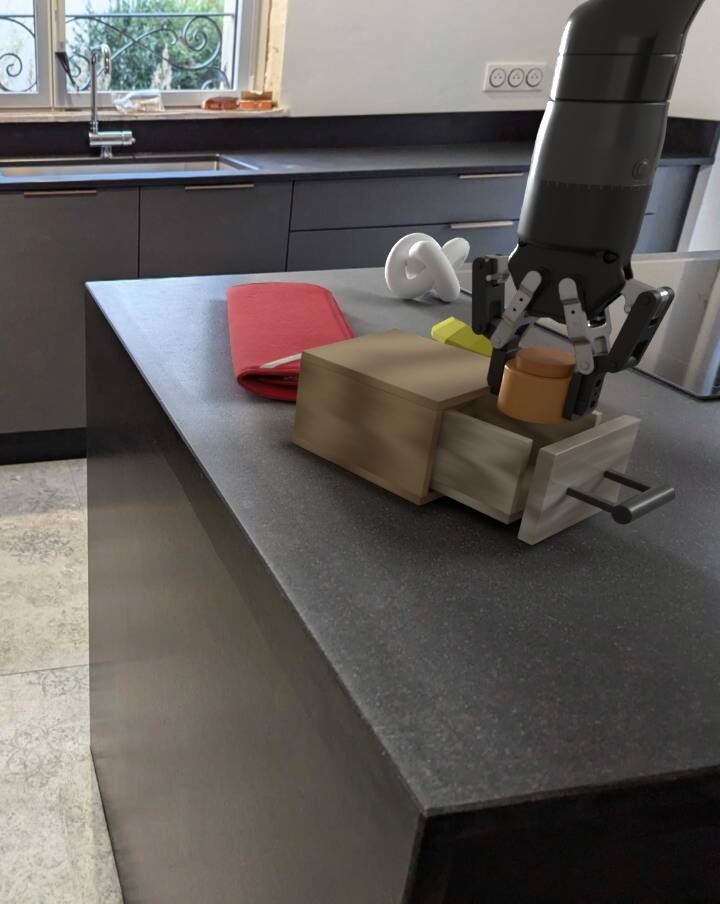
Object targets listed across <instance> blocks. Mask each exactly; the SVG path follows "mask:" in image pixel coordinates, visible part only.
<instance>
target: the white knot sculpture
mask: <svg viewBox="0 0 720 904" xmlns="http://www.w3.org/2000/svg"><path fill="white" fill-rule="evenodd" d="M470 249H471V247H470V243H469V241H467V240H466V239H465V238H463V237H455V238H453V239H450V240H448V241H447V242H446V243H445V244H444V245H442V246H440V244H439V243H438V242H437V241H436V240H435V239H434V238H433V237H432V236H431V235H428V234H426V233H422V232H413V233H409V234H407V235H405V236H403V237H401V238H400V239H399V240H398V241H397V242H396V243H395V244H394V246H393V247H392V248H391V251H390V252H389V254H388V256H387V259H386V261H385V262H386V263H385V268H384V277H385V281H386V285H387V287H388V288H389V290H390V291H391V293H393V294H394V295H395V296H397V297H398V298H401V299H404V300H414V299H417V298H419V297H422V296H424V295H426V294H428V293H429V292H430V291H433V290H434V291H435V293H436V295H437V297H438V298H439V299H440V300H442V302H446V303H451V302H453V301H456V300H457V299H458V298H459V297H460V294H461V285H460V282H459V279H458V276H457V274H456V272H457V271H458V270H459V269H460V268H461V267H462V266H463V264H464V263H465V261H466V260H467V258H468V256H469V253H470Z"/></svg>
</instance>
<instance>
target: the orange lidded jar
mask: <svg viewBox="0 0 720 904" xmlns="http://www.w3.org/2000/svg"><path fill="white" fill-rule="evenodd" d="M575 371H578V370H577V366H576V359H575V354H572V353H570V352H567V351H564V350H560V349H556V348H550V347H540V346H539V347H538V346H537V347H534V346H533V347H523V349H520V350H518V351H517V353H516V358H515V359H512V360H509V361H507V362H506V364H505V368H504V373H503V378H502V383H501V387H500V392H499V397H498V402H497V407H498V409H499V410H500V411H501V412H503V413H504V414H506V415H508V416H510V417H513V418H516V419H519V420H522V421H527V422H532V423H538V424H562V423H567V422H569V420H567V419H564V418H563V417H562V414H563V410H564V406H565V402H566V398H567V394H568V390H569V386H570V382H571V378H572V374H573V372H575Z"/></svg>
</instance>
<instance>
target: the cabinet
mask: <svg viewBox="0 0 720 904" xmlns="http://www.w3.org/2000/svg"><path fill="white" fill-rule="evenodd" d="M490 360H491V358H490V357H486V356H483V355H480V354H477V353H473V352H470V351H467V350H464V349H460V348H457V347H454V346H451V345H448V344H444V343H441V342H438V341H435V340H434V339H432V338H428V337H425V336H421V335H419V334H415V333H412V332H409V331H405V330H403V329H398V328H397V327H396V328H391V329H387V330H384V331H379V332H375V333H371V334H367V335H361V336H358V337H356V338H353V339H349V340H345V341H341V342H337V343H332V344H328V345H324V346H320V347H316V348H311V349H307V350H303V351H302V354H301V362H300V372H299V381H298V391H297V401H295V402H296V403H295V411H294V421H293V430H292V441H291V443H292V444H294V445H296V446H298V447H300V448H303V449H304V450H307V451H309V452H310V453H313V454H314V455H317V456H318V457H321V458H323V459H324V460H326V461H329V462H331V463H332V464H335V465H337V466H339V467H341V468H343V469H344V470H346V471H349V472H350V473H352V474H355V475H357V476H358V477H361V478H362V479H365V480H366V481H369V482H371V483H373V484H375V485H377V486H378V487H380V488H382V489H385V490H387V491H388V492H391V493H393V494H395V495H397V496H399V497H401V498H403V499H405V500H407V501H409V502H410V503H413V504H415V505H416V506H419V507H420V506H422V505H425V504H427V503H430V502H433V501H436V500H438V499H440V498H442V497H445V496H446V495H444V494H442V493H440V492H438V491H436V490H434V489H431V488H429V483H430V477H431V472H432V467H433V461H434V456H435V451H436V445H437V440H438V435H439V429H440V424H441V419H442V413H443V409H445V408H448V407H451V406H454V405H457V404H460V403H464V402H467V401H470V400H473V399H476V398H479V397H482V396H485V395H488V394H491V393H490V387H491V386H489V385H488V384H487V375H488V370H489V367H490V366H489V365H490Z"/></svg>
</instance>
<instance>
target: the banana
mask: <svg viewBox="0 0 720 904" xmlns="http://www.w3.org/2000/svg"><path fill="white" fill-rule="evenodd" d="M430 334H431V338H432V340H435V341H438V342H441V343H444V344H448V345H451V346H454V347H457V348H460V349H464V350H467V351H470V352H473V353H477V354H480V355H483V356H486V357H490V358H491V355H492V350H493V346H492V345H491V343H490V340H488V339H487V338H486V337H484V336H483V335H476V334H475V333H474V332H473V331H472V326H469V325H468V324H467V323H465V322H463V321H462V320H460V319H458V318H456V317H453V316H450V317H449V318H447V319H445V320H443V321H441V322H439V323H437V324H435V325H433V326H432V328H431V333H430Z"/></svg>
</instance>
